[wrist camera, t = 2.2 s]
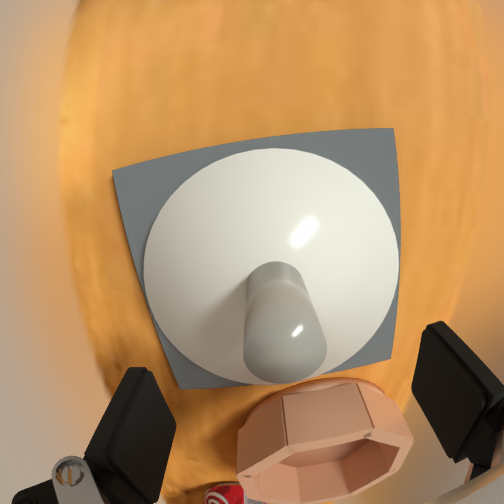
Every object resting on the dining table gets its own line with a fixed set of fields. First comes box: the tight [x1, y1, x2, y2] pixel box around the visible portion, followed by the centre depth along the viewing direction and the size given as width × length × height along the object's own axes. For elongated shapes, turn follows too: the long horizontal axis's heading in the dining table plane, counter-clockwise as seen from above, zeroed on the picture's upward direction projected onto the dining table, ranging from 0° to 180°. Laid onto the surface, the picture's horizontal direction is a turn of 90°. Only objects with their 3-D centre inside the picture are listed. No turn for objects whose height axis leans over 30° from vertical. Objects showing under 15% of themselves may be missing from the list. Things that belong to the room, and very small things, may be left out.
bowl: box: [236, 377, 414, 504], centre depth 17 cm, size 12×12×5 cm
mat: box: [112, 128, 401, 390], centre depth 15 cm, size 14×14×1 cm
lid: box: [143, 148, 399, 385], centre depth 12 cm, size 13×13×6 cm
